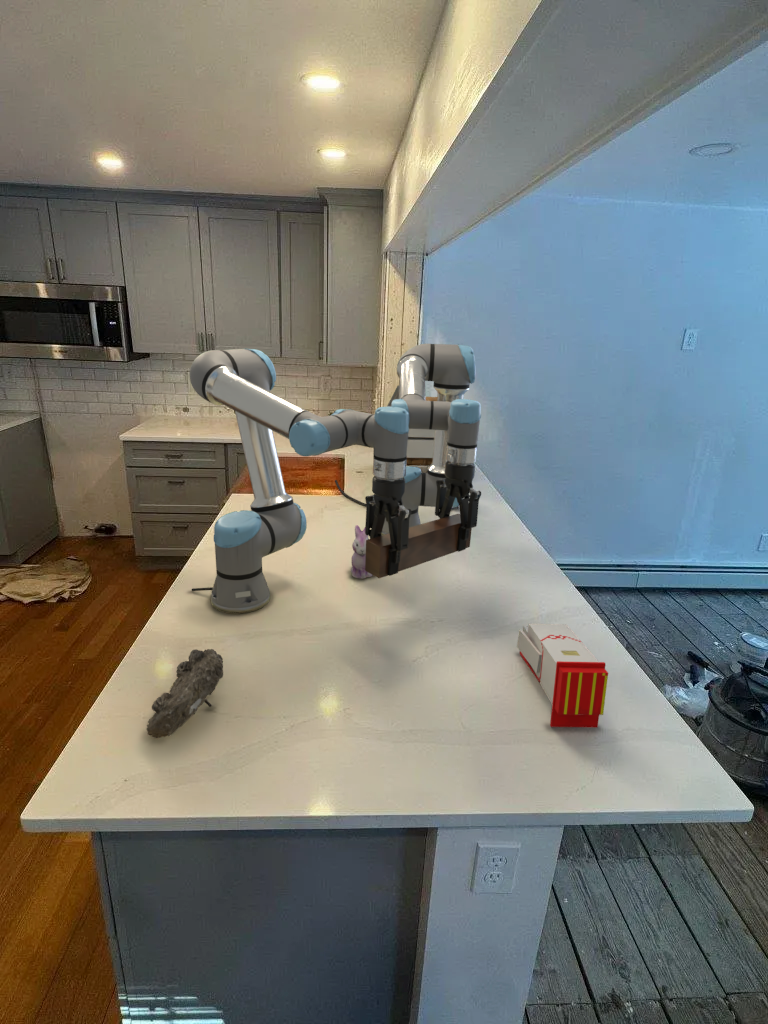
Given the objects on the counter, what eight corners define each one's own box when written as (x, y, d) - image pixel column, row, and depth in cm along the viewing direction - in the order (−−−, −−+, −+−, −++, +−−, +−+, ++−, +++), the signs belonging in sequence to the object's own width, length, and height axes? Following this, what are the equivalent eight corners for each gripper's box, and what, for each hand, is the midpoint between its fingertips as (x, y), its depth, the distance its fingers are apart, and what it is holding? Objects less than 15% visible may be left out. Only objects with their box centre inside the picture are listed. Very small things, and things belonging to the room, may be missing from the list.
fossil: (175, 650, 120) (224, 619, 115) (206, 680, 123) (256, 650, 118) (122, 731, 101) (179, 697, 96) (161, 764, 104) (219, 733, 99)
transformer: (382, 463, 289) (386, 382, 275) (445, 464, 293) (451, 384, 279) (390, 482, 257) (394, 392, 243) (460, 483, 261) (468, 394, 247)
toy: (562, 608, 134) (617, 669, 105) (557, 660, 137) (609, 734, 107) (511, 607, 134) (552, 667, 104) (507, 659, 136) (545, 733, 107)
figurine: (357, 582, 163) (358, 534, 158) (342, 568, 171) (343, 521, 166) (386, 576, 167) (388, 529, 162) (370, 563, 176) (372, 517, 171)
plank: (378, 578, 132) (380, 547, 129) (365, 570, 136) (366, 539, 133) (469, 546, 152) (472, 519, 149) (455, 540, 156) (458, 513, 153)
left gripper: (351, 469, 132) (348, 560, 140) (404, 489, 120) (398, 588, 128) (375, 465, 137) (372, 553, 145) (429, 483, 124) (422, 579, 132)
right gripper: (424, 456, 147) (418, 538, 155) (478, 472, 135) (469, 561, 143) (444, 452, 152) (437, 532, 160) (498, 468, 139) (488, 554, 147)
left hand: (384, 569), depth 136 cm, fingers closed on plank, 5 cm apart
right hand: (452, 546), depth 151 cm, fingers closed on plank, 5 cm apart
